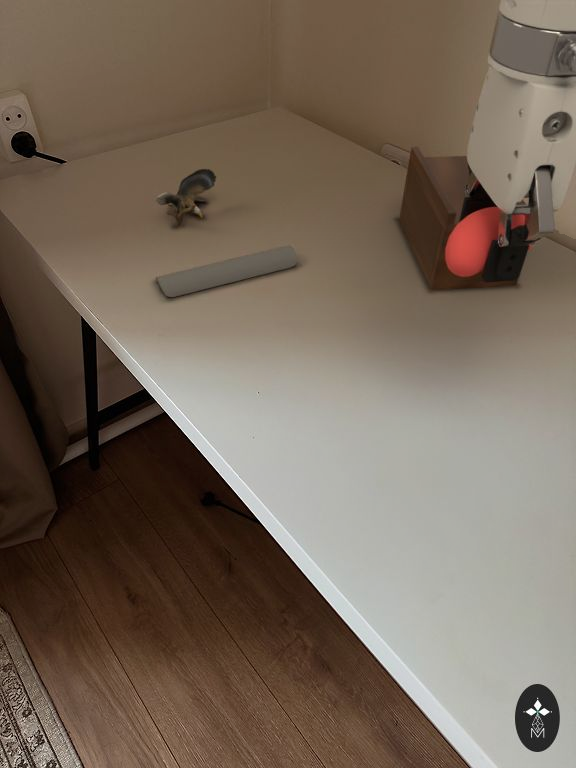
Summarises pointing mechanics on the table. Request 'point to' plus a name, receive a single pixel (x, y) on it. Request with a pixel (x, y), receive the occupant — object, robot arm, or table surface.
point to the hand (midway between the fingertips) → (485, 255)
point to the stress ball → (475, 241)
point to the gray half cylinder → (227, 271)
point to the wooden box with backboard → (437, 216)
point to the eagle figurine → (188, 194)
